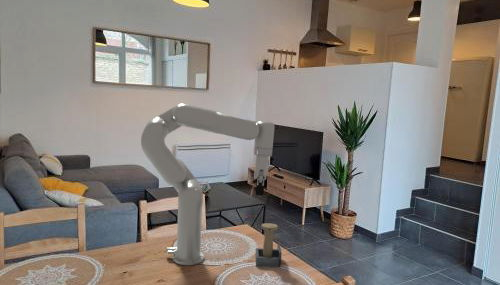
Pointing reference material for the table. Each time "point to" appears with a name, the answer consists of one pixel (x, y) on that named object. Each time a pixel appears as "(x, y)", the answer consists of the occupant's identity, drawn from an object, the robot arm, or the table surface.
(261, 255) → the box
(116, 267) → the table surface
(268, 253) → the handle
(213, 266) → the table surface
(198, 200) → the robot arm
